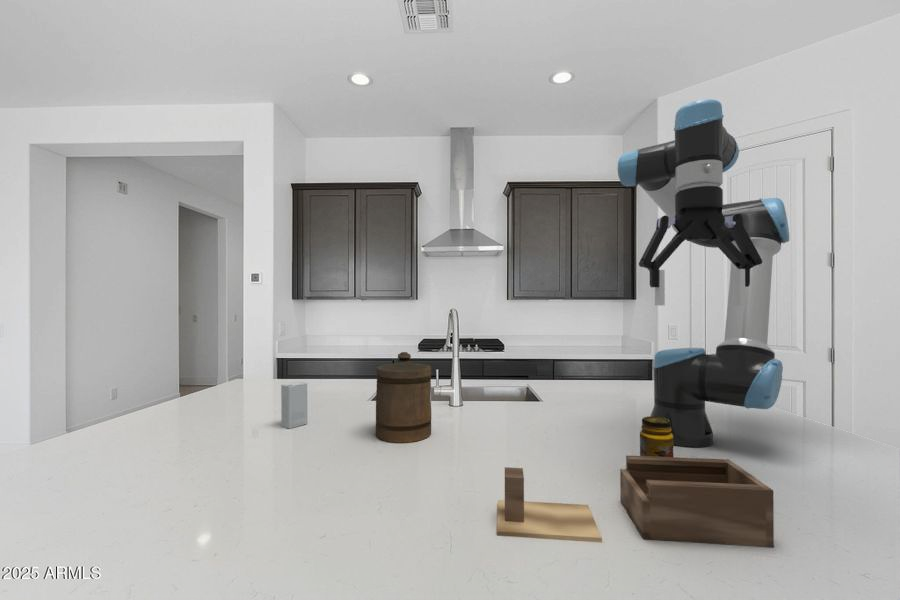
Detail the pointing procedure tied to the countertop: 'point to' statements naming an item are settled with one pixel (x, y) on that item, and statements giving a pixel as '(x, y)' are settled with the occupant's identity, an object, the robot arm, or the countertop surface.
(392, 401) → the wooden container
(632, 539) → the countertop surface
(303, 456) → the countertop surface
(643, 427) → the condiment
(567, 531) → the cover plate
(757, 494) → the walnut box
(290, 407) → the skincare box
